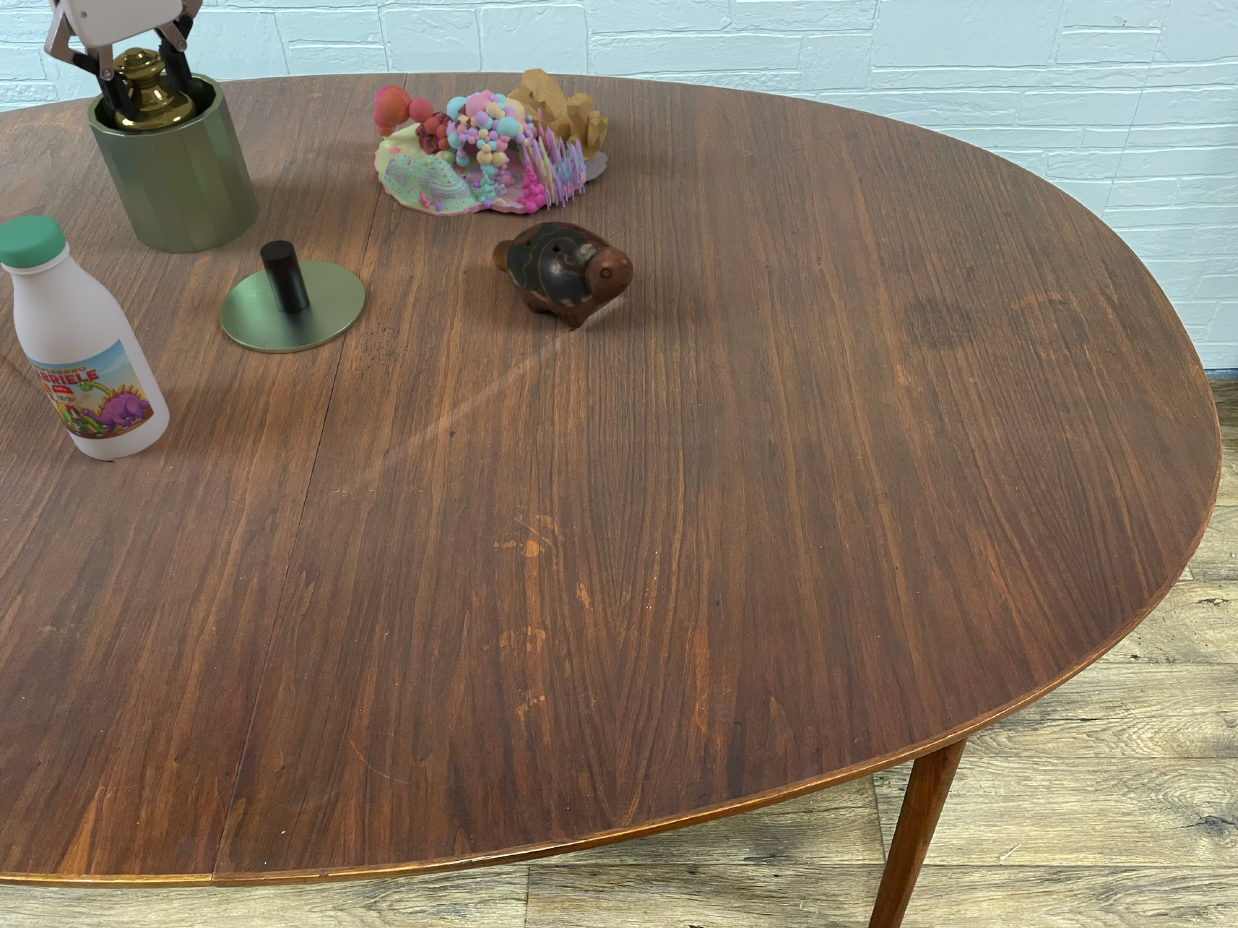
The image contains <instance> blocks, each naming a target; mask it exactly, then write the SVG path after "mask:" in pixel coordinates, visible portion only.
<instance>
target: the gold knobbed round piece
mask: <svg viewBox="0 0 1238 928" xmlns="http://www.w3.org/2000/svg"><path fill="white" fill-rule="evenodd" d="M166 64H167V61H166V58H165V56H164V55H163V54H162V53H160V52H159V51H158V50H154V49H150V48H144V47H143V48H142V47H140V46H135V47H134V46H133V47H129V48H127V49H125V50H124V51H123V52H121V53H120V54H119V55H117V56H116V57H114V58H113V65H114V71H115V74H117V75H119V76H120V77H121V78H122V79H123V81H126V82H127V83H128V84H129V85H130V87H131V89H130V91H129V93H128V94H129V97H130V100H131V102H132V105H133V108H134V110H135V113H136V115H135V117H134V118H132V119H128V118H126V117H125V116H123V115H122V114H120V113H118V112H117V111H115V115H114V118H115V122H116V124H117V126H118V127H119V129H120V130H121V131H124V132H152V131H157V130H161V129H166V128H170V127H175V126H178V125H180V124H182V123H185V122H187V121H189V120H192V119H194V118H196V106H195V102H194V101H193V99H192V98H191V97H190V96H189V95H187V94H186V95H185V94H184V93H182V92H180V91H179V90H175V89H173V88H172V87H170V86H167V85H165V84H163V83H161V82H160V80H159V76H160V73H161V72H164V71H165V67H166Z"/></svg>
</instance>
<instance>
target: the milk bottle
mask: <svg viewBox="0 0 1238 928" xmlns="http://www.w3.org/2000/svg"><path fill="white" fill-rule="evenodd" d="M70 249H71V248H70V244H69V243H68V241H67V240H66V236H65V234H64V232H63V230H62V228H61V226H60V224H59V223H58V222H57V221H56V220H55V219H54V218H53V217H50V216H47V215H43V214H30V215H24V216H19V217H16V218H13V219H11V220H8V221H6V222H5V223H3V224H1V225H0V262H1V263H0V264H1V267H2V269H4V270H5V271H6V272H8V273H9V274H10V276H11V280H12V285H13V323H14V329H15V333H16V335H17V338H18V341H19V344H20V346H21V348H22V350H23V352H24V354H25V356H26V358H27V360H28V362H29V364H30V366H31V367H32V369H33V371H34V373H35V375H36V377H37V379H38V380H39V383H40V384H41V386H42V388H43V390H44V392H45V393H46V395H47V396H48V399H49V400H50V402H51V404H52V406H53V407H54V409H55V411H56V413H57V414H58V416H59V418H60V420H61V422H62V423H63V425H64V427H65V428H66V430H67V432H68V434H69V436H70V437H71V439H72V440H73V442H74V445H76V447H77V449H78V450H79V451H81V452H82V454H85V455H86V456H87V457H90V458H93V459H95V460H99V461H105V462H107V461H111V462H113V461H114V459H120V458H126V457H128V456H132V455H134V454H138V453H139V452H141V451H143V450H145V449H147V448H149V447H150V446H151V445H153V444H154V443H155V442H156V441H157V440H160V438H161V437H162V435H163V434H164V433H165V431H166V430H167V428H168V425H169V423H170V417H171V416H170V410H169V408H168V405H167V403H166V401H165V398H164V396H163V393H162V392H161V388H160V387H159V385H158V383H157V380H156V378H155V376H154V373H153V371H152V369H151V367H150V364H149V363H148V361H147V359H146V356H145V354H144V352H143V349H142V347H141V346H140V344H139V341H138V339H137V337H136V335H135V332H134V331H133V328H132V327H131V326H132V325H131V324H130V323H129V320H128V319H127V317H126V314H125V313H124V311H123V309H122V307H121V306H120V304H119V302H118V301H117V300H116V298H115V297H114V295H112V293H111V292H110V291H109V290H108V289H107V288H106V287H105V286H104V285H103V284H102V283H101V282H100V281H98V280H97V279H96V278H95V277H93V276H92V275H91V274H89V273H88V272H86V271H85V270H84V269H83V268H82V267H81V265H79V264H78V263H77V262H76V261H75V260H74V258H73V257H72V256H71V255H70Z"/></svg>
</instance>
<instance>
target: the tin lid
mask: <svg viewBox="0 0 1238 928" xmlns="http://www.w3.org/2000/svg"><path fill="white" fill-rule="evenodd" d="M259 254H260V258H261V261H262V265H263V267H264V268H263V269H260V270H259V271H256V272H254V273H252V274H250V275H249V276H246V277H245V278H244V279H242V280H241V281H240V282H238V283H237V284H236V285H235V286H234V287H232V289H230V290H229V292H228V293H227V294H226V296H225V298H224V299H223V302H222V303H221V306H220V310H219V320H220V324H221V327H222V329H223V331H224V333H225V334H226V336H227V337H228V338H229V339H230V340H231V341H232V342H234V343H235V344H237V345H238V346H240V347H243V348H245V349H248V350H251V351H254V352H259V353H265V354H289V353H290V354H291V353H298V352H303V351H306V350H310V349H315V348H317V347H319V346H322V345H324V344H327V343H329V342H332V341H334V340H335V339H337V338H339V337H340V336H342V335H344V333H346V332H347V331H348V330H350V329H351V328H352V327H353V326H354V325H355V324H356V323H357V321H358V320H359V319H360V318H361V316H362V315H363V312H364V311H365V310H364V309H365V307H366V302H367V295H366V290H365V287H364V284H363V282H362V281H361V279H360V277H358V276H357V275H356V274H355V273H354V272H353V271H351V269H349V268H346V267H345V266H342V265H340V264H338V263H333V262H330V261H323V260H314V259H313V260H309V259H307V260H305V259H304V260H298V255H297V252H296V249H295V246H294V243H292V242H290V241H288V240H286V239H277V240H272V241H269V242H267V243H265V244H264V245H263V246H262V247H261V248H260V251H259Z"/></svg>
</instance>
